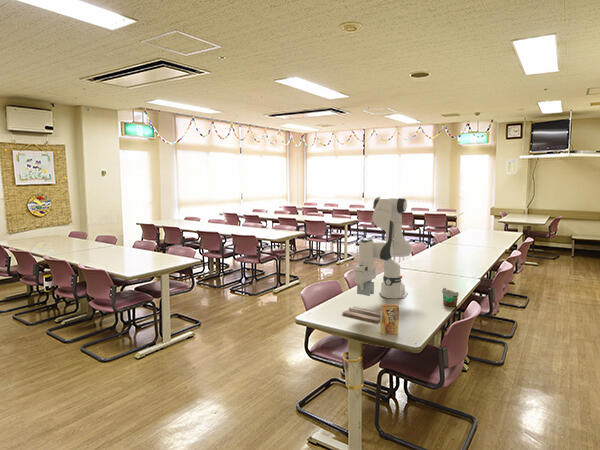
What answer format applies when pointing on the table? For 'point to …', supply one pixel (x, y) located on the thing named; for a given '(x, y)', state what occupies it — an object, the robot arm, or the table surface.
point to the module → (366, 288)
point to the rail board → (363, 314)
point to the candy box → (389, 319)
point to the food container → (450, 298)
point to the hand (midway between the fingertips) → (365, 288)
